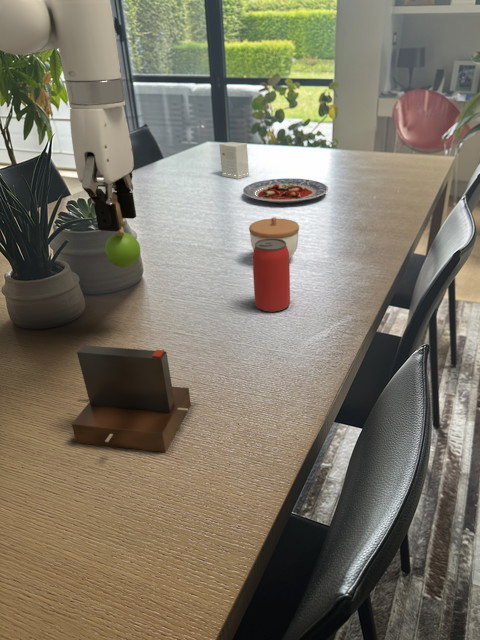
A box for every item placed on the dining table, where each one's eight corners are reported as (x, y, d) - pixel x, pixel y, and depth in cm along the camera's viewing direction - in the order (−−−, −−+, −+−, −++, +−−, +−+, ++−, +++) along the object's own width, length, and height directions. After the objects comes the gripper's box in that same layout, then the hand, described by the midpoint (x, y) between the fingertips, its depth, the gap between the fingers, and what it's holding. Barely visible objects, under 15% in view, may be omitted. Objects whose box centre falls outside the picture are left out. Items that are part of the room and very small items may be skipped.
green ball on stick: (139, 256, 93) (128, 182, 86) (144, 269, 87) (133, 192, 81) (106, 260, 91) (92, 186, 85) (109, 274, 86) (94, 196, 80)
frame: (90, 405, 72) (76, 350, 67) (96, 397, 73) (83, 343, 69) (170, 412, 70) (161, 357, 65) (174, 404, 71) (166, 349, 67)
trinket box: (303, 266, 119) (303, 223, 114) (254, 270, 117) (251, 227, 112) (294, 249, 128) (293, 209, 122) (248, 253, 126) (246, 212, 121)
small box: (249, 176, 190) (247, 143, 185) (237, 179, 187) (235, 146, 181) (233, 173, 195) (230, 141, 189) (221, 176, 191) (219, 143, 186)
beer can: (253, 299, 105) (250, 238, 99) (287, 296, 106) (286, 236, 99) (256, 314, 100) (253, 250, 93) (292, 311, 100) (291, 248, 94)
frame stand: (54, 454, 68) (48, 434, 66) (108, 387, 81) (104, 368, 79) (170, 468, 66) (167, 447, 64) (207, 395, 78) (205, 377, 76)
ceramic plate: (314, 210, 153) (315, 200, 152) (230, 204, 161) (229, 194, 159) (337, 187, 174) (337, 178, 172) (260, 183, 181) (260, 174, 180)
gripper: (98, 88, 84) (118, 207, 93) (37, 101, 69) (68, 241, 79) (145, 88, 83) (160, 209, 92) (93, 102, 68) (117, 243, 78)
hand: (118, 222), depth 86 cm, fingers closed on green ball on stick, 5 cm apart
